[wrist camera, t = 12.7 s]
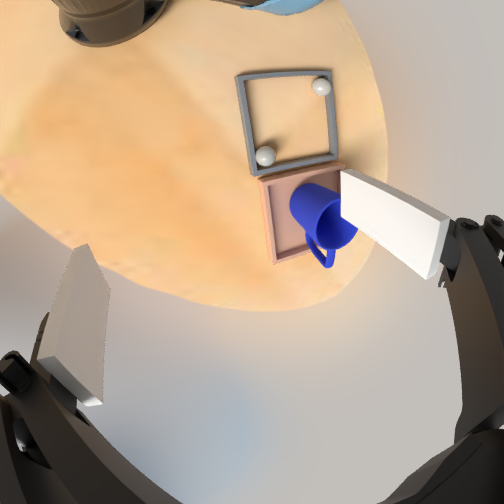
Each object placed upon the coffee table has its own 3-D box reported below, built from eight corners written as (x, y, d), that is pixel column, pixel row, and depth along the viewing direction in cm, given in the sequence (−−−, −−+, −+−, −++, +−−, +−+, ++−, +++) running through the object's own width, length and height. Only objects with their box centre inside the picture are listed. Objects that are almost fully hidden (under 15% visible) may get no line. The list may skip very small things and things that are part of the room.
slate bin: (234, 77, 32) (237, 76, 30) (325, 71, 35) (330, 71, 33) (250, 174, 40) (253, 176, 39) (333, 157, 43) (338, 158, 42)
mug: (281, 246, 48) (309, 278, 40) (283, 179, 41) (316, 200, 33) (321, 238, 50) (353, 265, 42) (326, 175, 44) (364, 194, 36)
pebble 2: (306, 78, 35) (317, 77, 32) (322, 78, 35) (333, 77, 33) (309, 96, 36) (319, 96, 34) (325, 95, 37) (335, 96, 34)
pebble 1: (250, 146, 38) (258, 149, 35) (269, 143, 38) (278, 146, 36) (253, 165, 39) (261, 170, 37) (272, 161, 40) (280, 165, 37)
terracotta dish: (257, 178, 41) (262, 182, 39) (338, 161, 44) (345, 164, 42) (269, 259, 49) (273, 264, 47) (338, 235, 52) (344, 240, 50)
